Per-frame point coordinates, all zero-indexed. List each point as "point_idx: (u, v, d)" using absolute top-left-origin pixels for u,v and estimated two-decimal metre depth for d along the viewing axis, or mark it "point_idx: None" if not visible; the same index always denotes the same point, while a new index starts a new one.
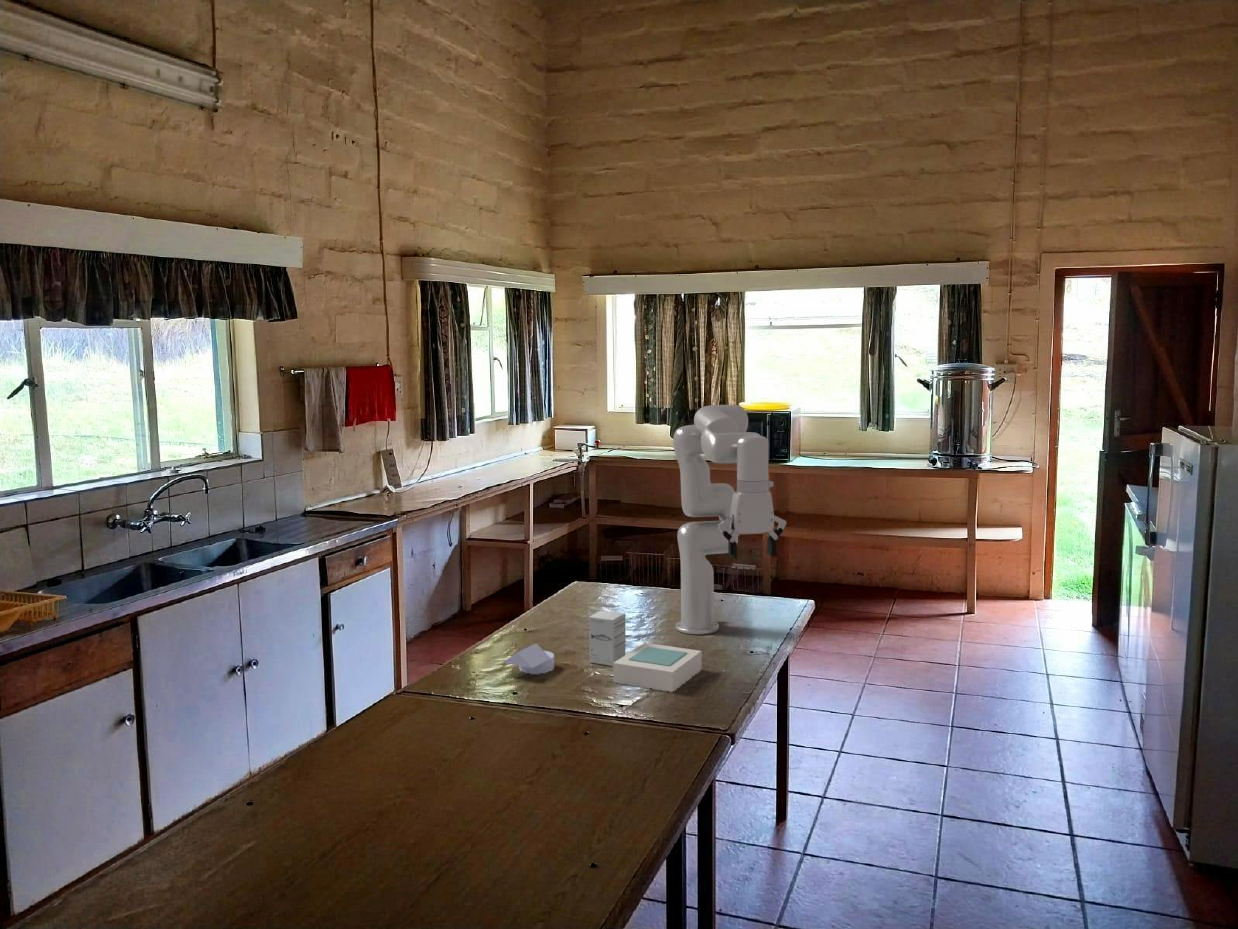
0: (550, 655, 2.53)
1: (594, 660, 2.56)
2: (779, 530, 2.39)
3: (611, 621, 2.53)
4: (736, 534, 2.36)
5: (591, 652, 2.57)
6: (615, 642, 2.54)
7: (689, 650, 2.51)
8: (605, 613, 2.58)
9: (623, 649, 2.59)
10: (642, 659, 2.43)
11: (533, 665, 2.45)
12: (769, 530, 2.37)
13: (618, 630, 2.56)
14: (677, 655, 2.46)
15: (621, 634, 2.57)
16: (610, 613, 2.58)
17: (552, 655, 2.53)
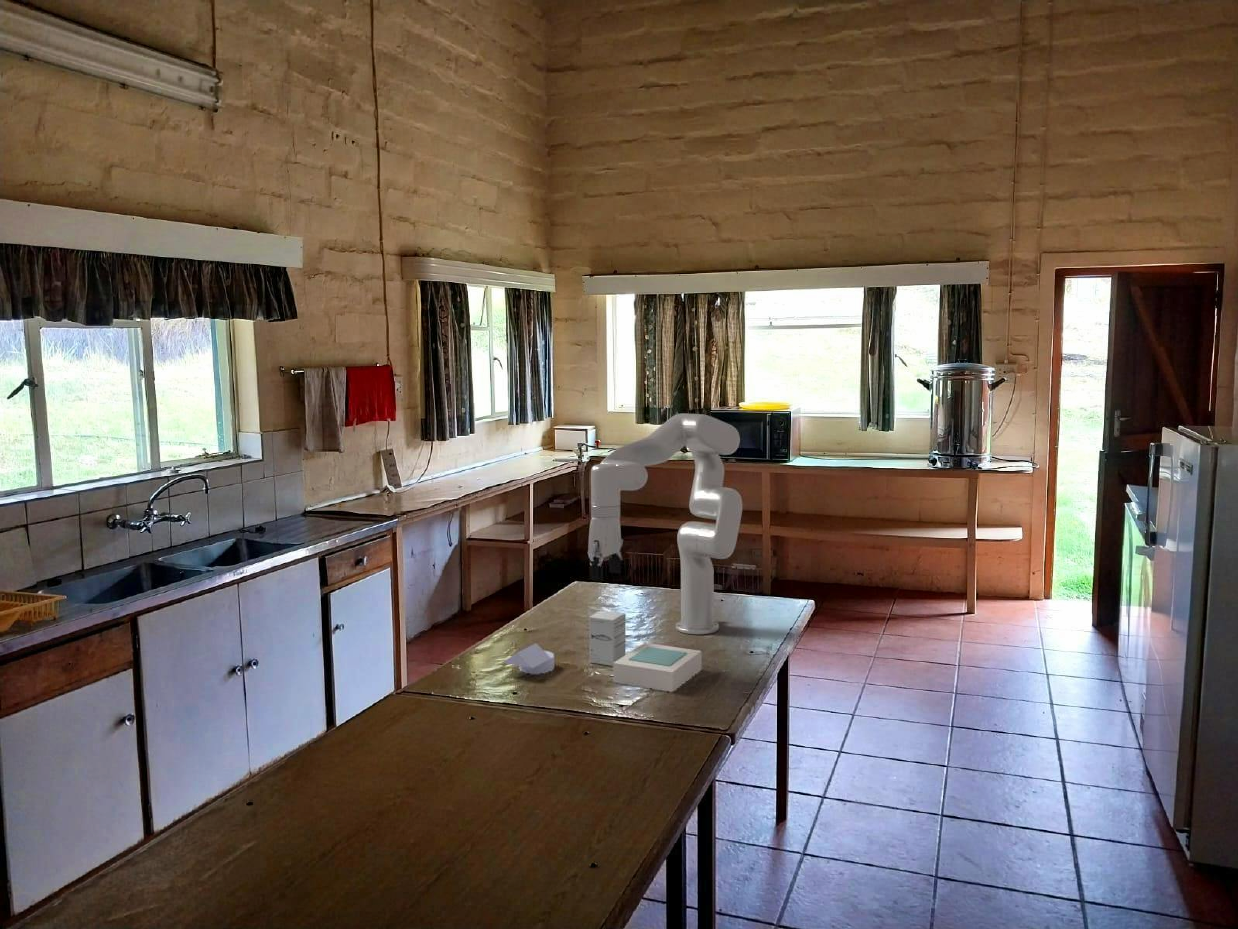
0: (550, 655, 2.53)
1: (594, 660, 2.56)
2: (620, 548, 2.61)
3: (611, 621, 2.53)
4: (602, 558, 2.50)
5: (591, 652, 2.57)
6: (615, 642, 2.54)
7: (689, 650, 2.51)
8: (605, 613, 2.58)
9: (623, 649, 2.59)
10: (642, 659, 2.43)
11: (533, 665, 2.45)
12: (619, 550, 2.57)
13: (618, 630, 2.56)
14: (677, 655, 2.46)
15: (621, 634, 2.57)
16: (610, 613, 2.58)
17: (552, 655, 2.53)
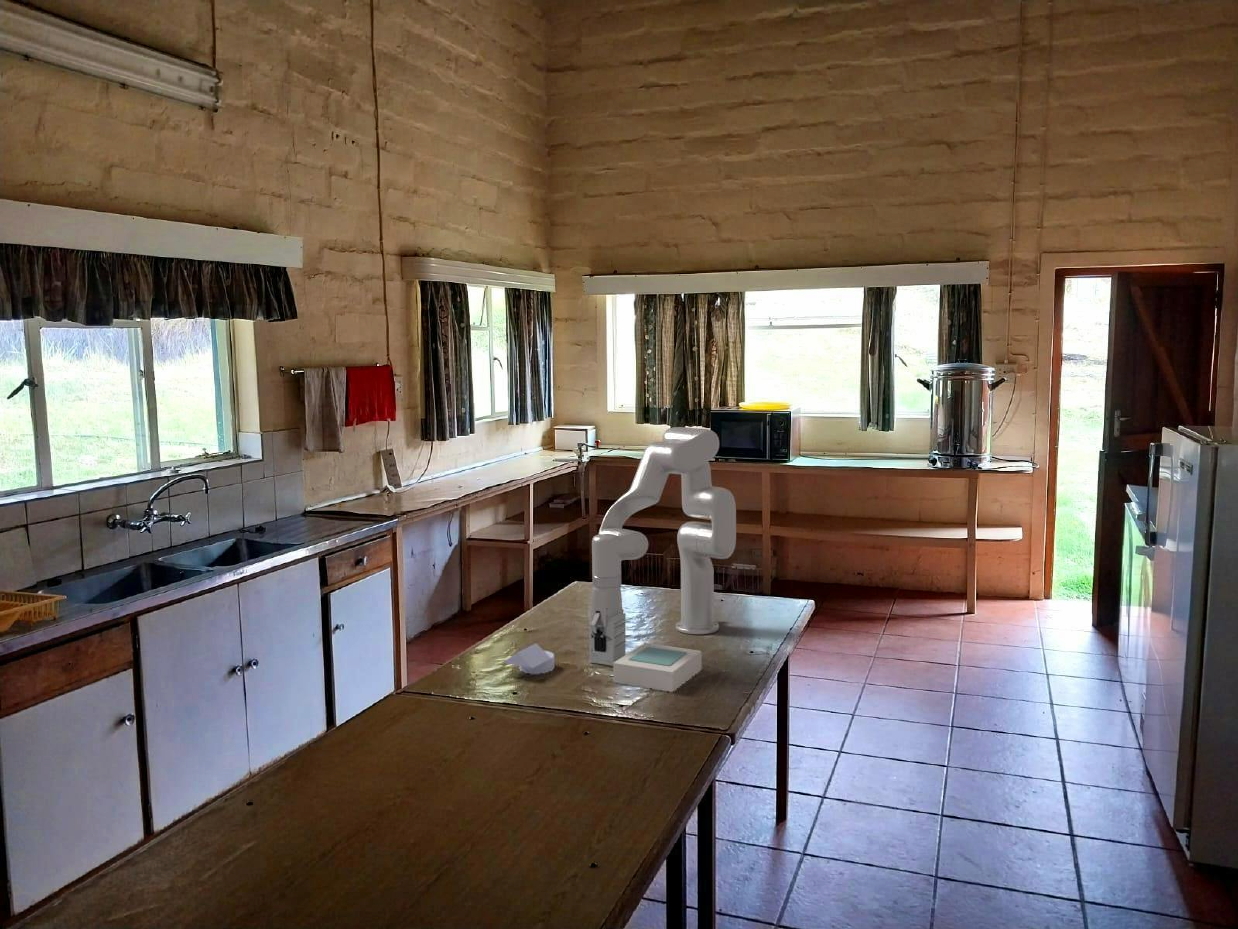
0: (550, 655, 2.53)
1: (595, 660, 2.56)
2: None
3: (611, 621, 2.53)
4: (604, 629, 2.53)
5: (591, 652, 2.57)
6: (615, 642, 2.54)
7: (689, 650, 2.51)
8: None
9: (623, 649, 2.59)
10: (642, 659, 2.43)
11: (533, 665, 2.45)
12: None
13: (618, 630, 2.56)
14: (677, 655, 2.46)
15: (621, 634, 2.57)
16: None
17: (552, 655, 2.53)
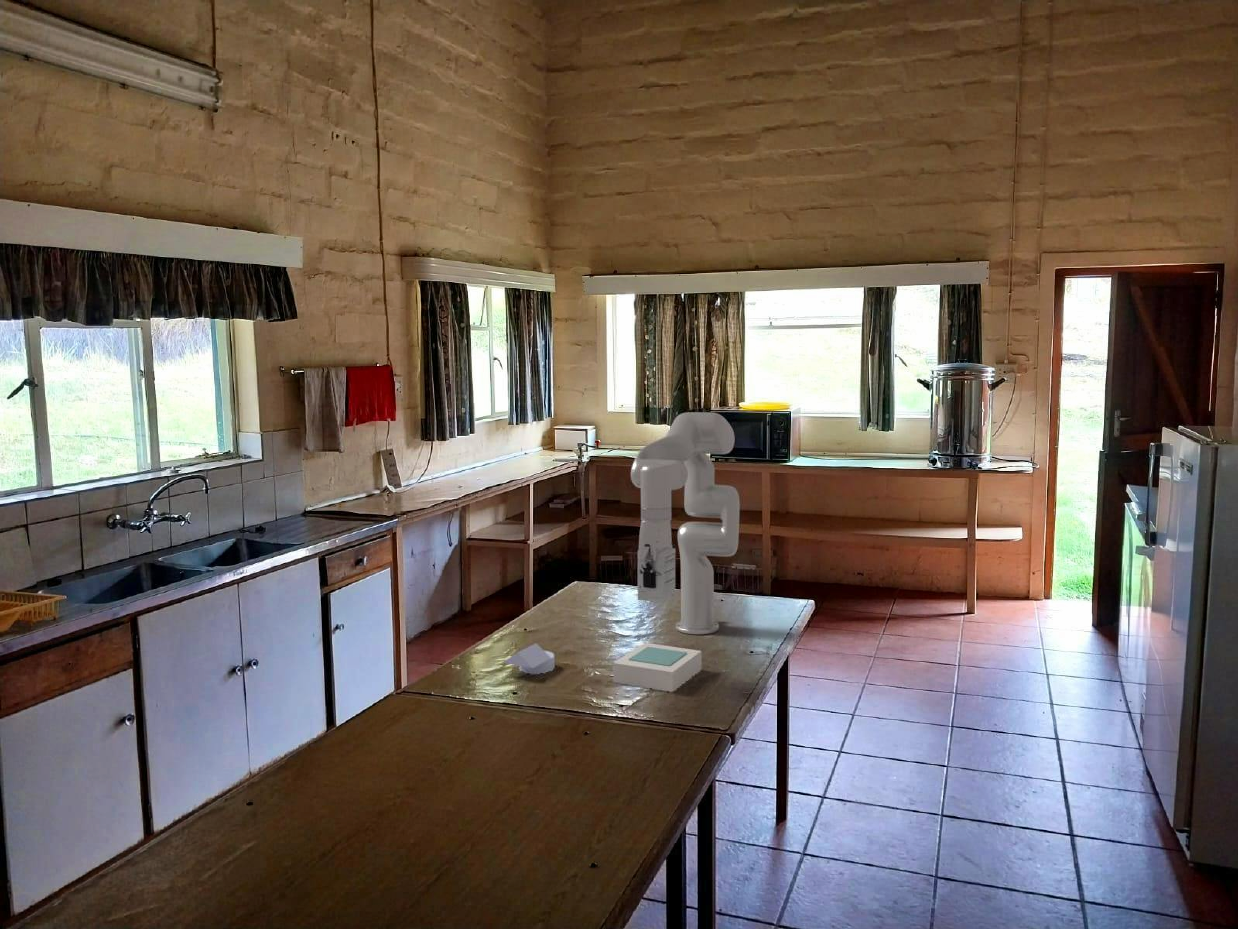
0: (550, 655, 2.54)
1: (643, 597, 2.42)
2: None
3: (661, 555, 2.38)
4: (654, 563, 2.39)
5: (639, 589, 2.42)
6: (665, 578, 2.40)
7: (689, 650, 2.51)
8: None
9: (673, 586, 2.44)
10: (642, 659, 2.43)
11: (533, 665, 2.45)
12: None
13: (668, 565, 2.41)
14: (677, 655, 2.46)
15: (671, 570, 2.43)
16: None
17: (552, 655, 2.53)
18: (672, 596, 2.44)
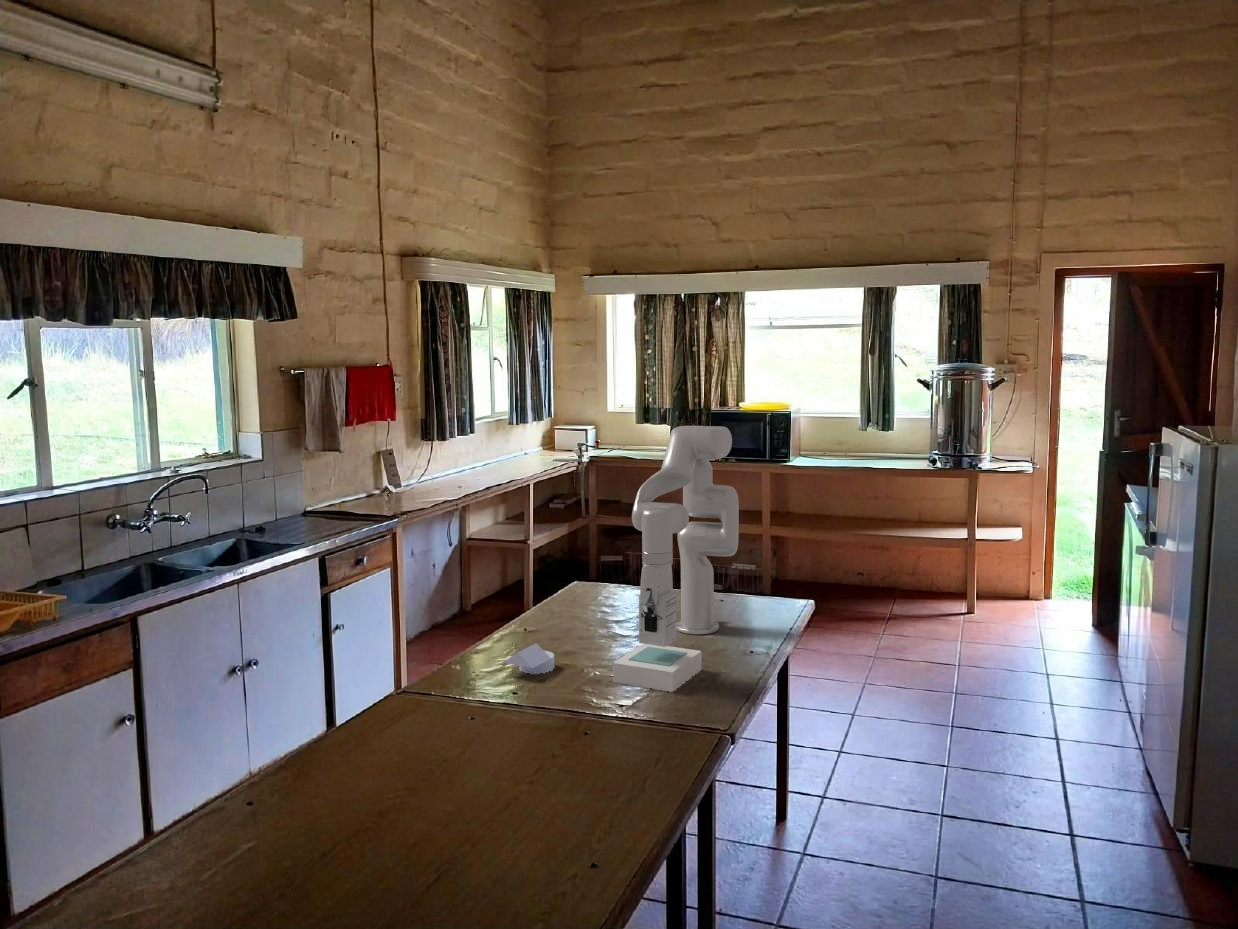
0: (550, 655, 2.54)
1: (644, 641, 2.43)
2: None
3: (663, 599, 2.39)
4: (655, 608, 2.40)
5: (641, 632, 2.43)
6: (666, 622, 2.41)
7: (689, 650, 2.51)
8: None
9: (674, 629, 2.45)
10: (642, 659, 2.43)
11: (533, 665, 2.45)
12: None
13: (670, 609, 2.42)
14: (677, 655, 2.46)
15: (672, 613, 2.44)
16: None
17: (552, 655, 2.53)
18: (673, 639, 2.45)
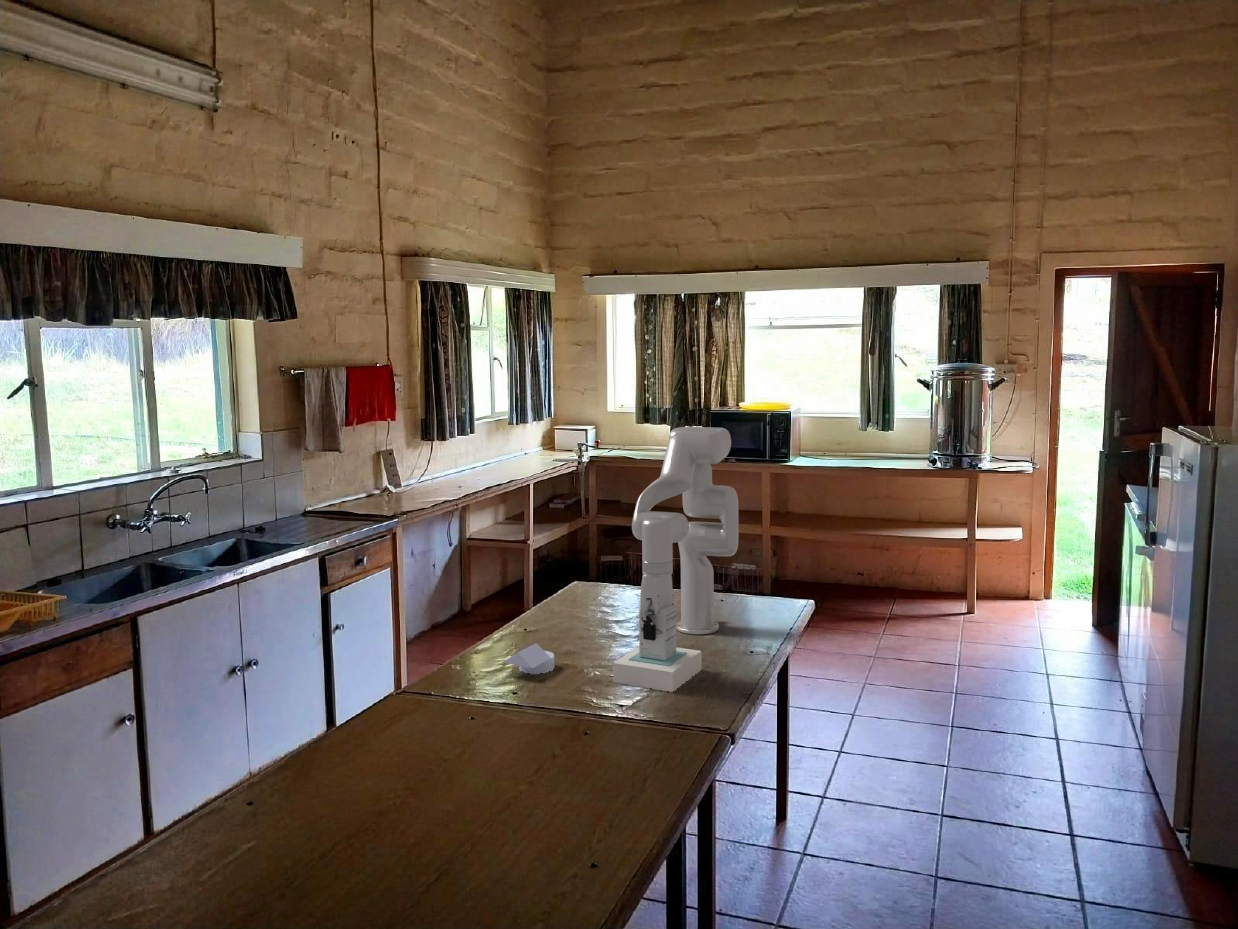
0: (550, 655, 2.54)
1: (645, 654, 2.44)
2: (671, 604, 2.50)
3: (663, 613, 2.40)
4: (654, 616, 2.40)
5: (641, 646, 2.44)
6: (667, 636, 2.42)
7: (689, 650, 2.51)
8: None
9: (674, 643, 2.46)
10: (642, 659, 2.43)
11: (533, 665, 2.45)
12: None
13: (670, 623, 2.43)
14: (677, 655, 2.46)
15: (672, 627, 2.44)
16: None
17: (552, 655, 2.53)
18: (673, 653, 2.46)
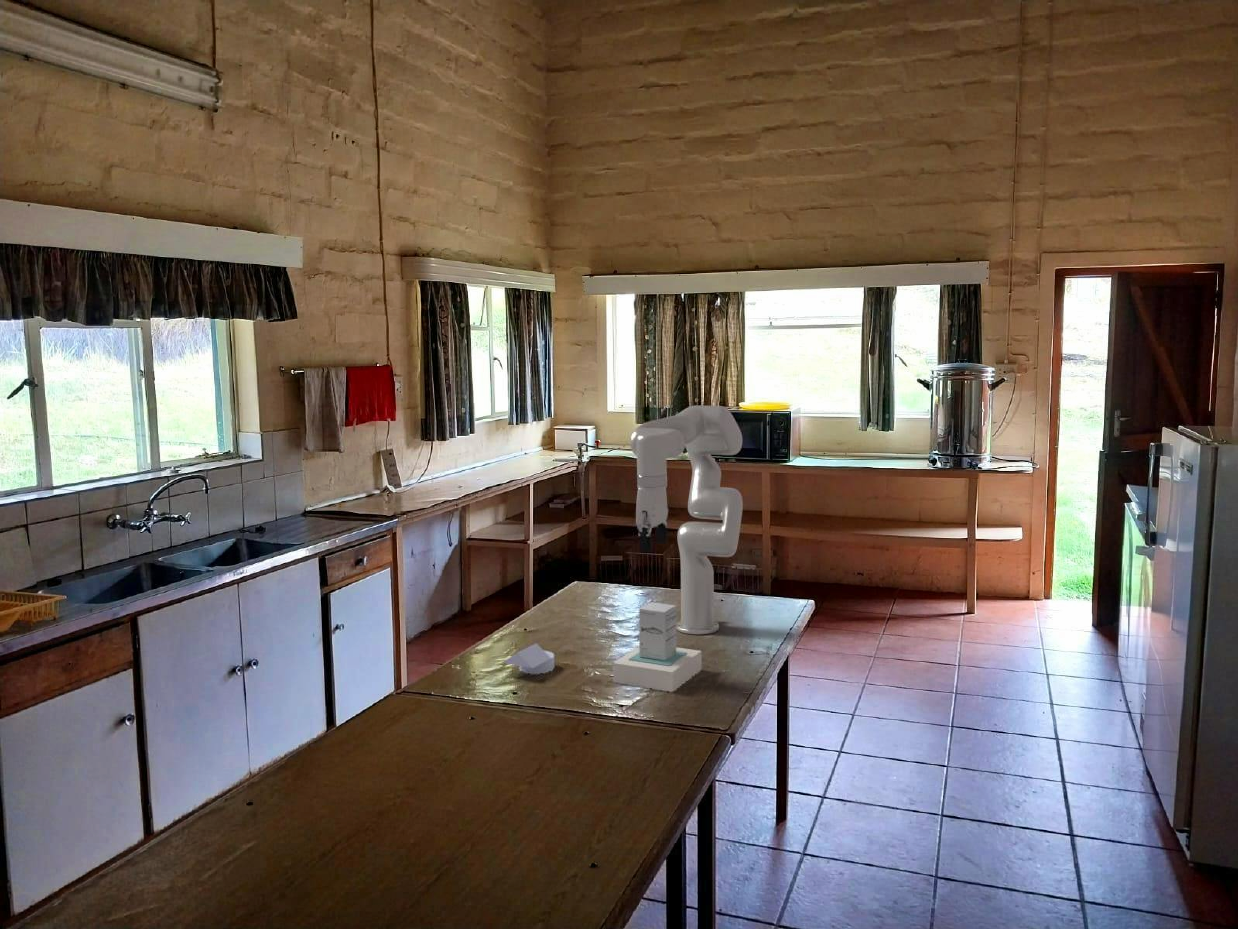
0: (550, 655, 2.54)
1: (645, 654, 2.44)
2: (666, 518, 2.57)
3: (663, 613, 2.40)
4: (650, 528, 2.47)
5: (641, 646, 2.44)
6: (667, 636, 2.42)
7: (689, 650, 2.51)
8: (655, 605, 2.46)
9: (674, 643, 2.46)
10: (642, 659, 2.43)
11: (533, 665, 2.45)
12: (665, 519, 2.54)
13: (670, 623, 2.43)
14: (677, 655, 2.46)
15: (672, 627, 2.44)
16: (661, 605, 2.46)
17: (552, 655, 2.53)
18: (673, 653, 2.46)
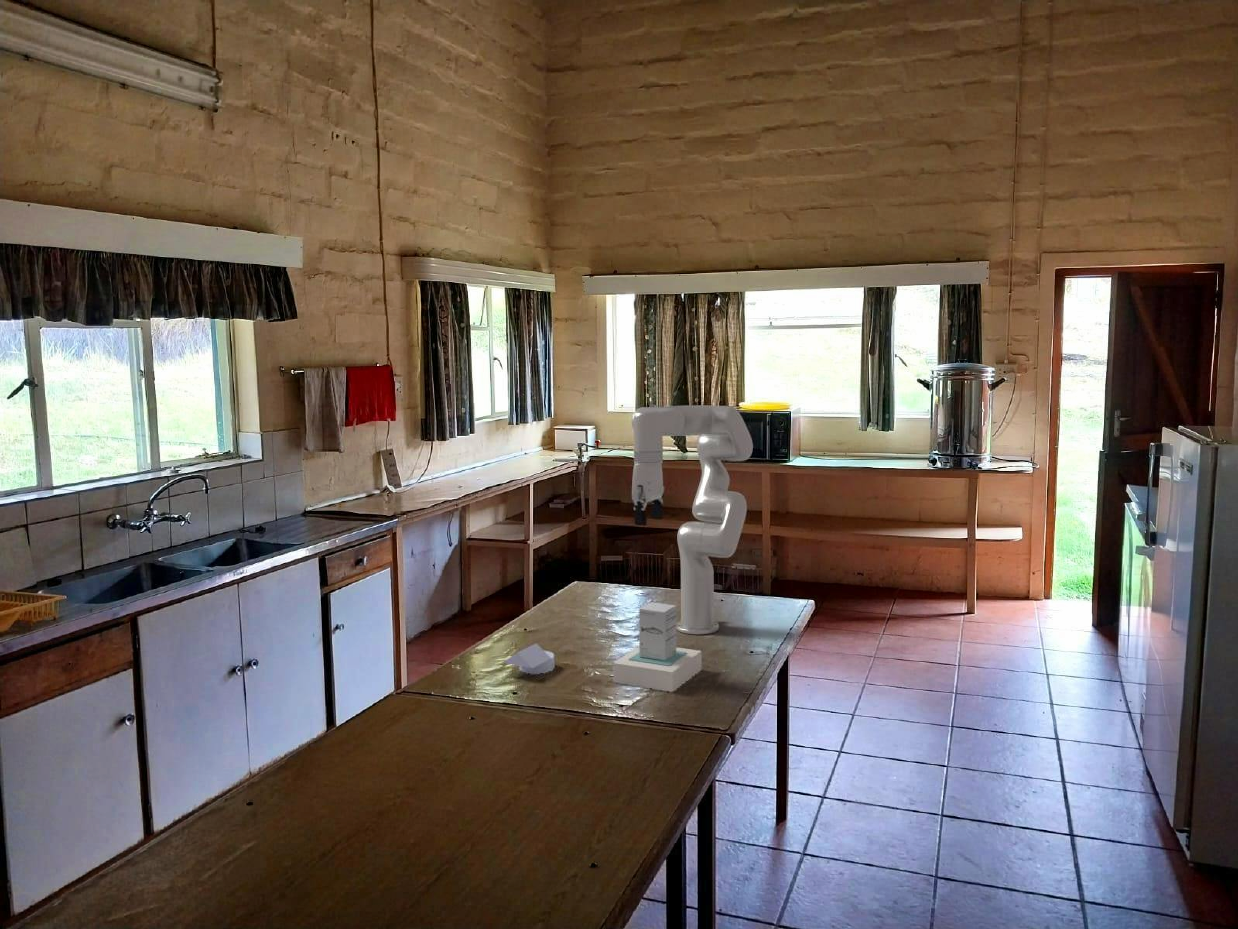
0: (550, 655, 2.54)
1: (645, 654, 2.44)
2: (662, 495, 2.63)
3: (663, 613, 2.40)
4: (645, 502, 2.53)
5: (641, 646, 2.44)
6: (667, 636, 2.42)
7: (689, 650, 2.51)
8: (655, 605, 2.46)
9: (674, 643, 2.46)
10: (642, 659, 2.43)
11: (533, 665, 2.45)
12: (661, 495, 2.60)
13: (670, 623, 2.43)
14: (677, 655, 2.46)
15: (672, 627, 2.44)
16: (661, 605, 2.46)
17: (552, 655, 2.53)
18: (673, 653, 2.46)
